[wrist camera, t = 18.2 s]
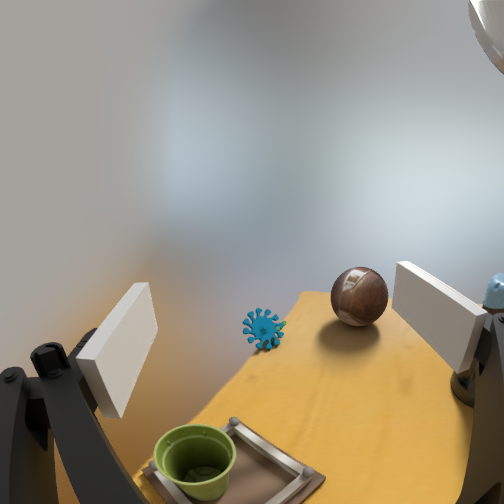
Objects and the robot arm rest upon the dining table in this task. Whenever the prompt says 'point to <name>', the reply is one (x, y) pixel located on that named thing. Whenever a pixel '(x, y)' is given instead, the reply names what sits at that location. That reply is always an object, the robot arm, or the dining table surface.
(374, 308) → the wooden sphere
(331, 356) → the dining table surface
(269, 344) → the blue plastic toy
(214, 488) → the plant pot
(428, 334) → the robot arm
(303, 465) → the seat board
